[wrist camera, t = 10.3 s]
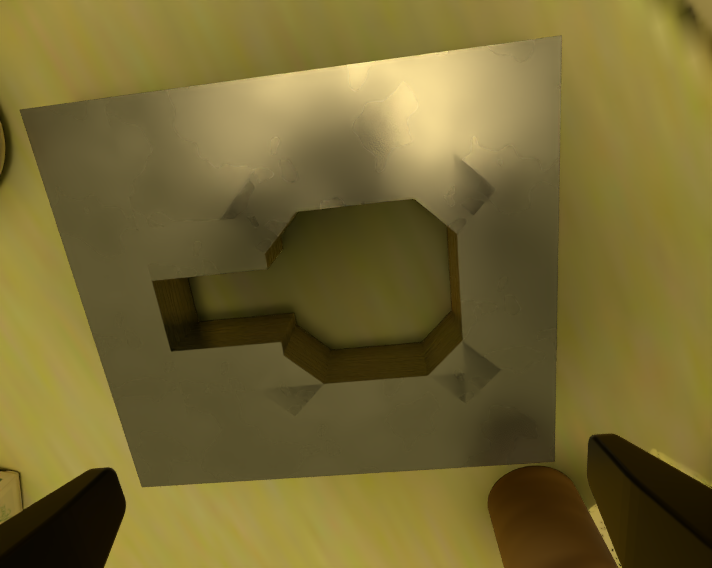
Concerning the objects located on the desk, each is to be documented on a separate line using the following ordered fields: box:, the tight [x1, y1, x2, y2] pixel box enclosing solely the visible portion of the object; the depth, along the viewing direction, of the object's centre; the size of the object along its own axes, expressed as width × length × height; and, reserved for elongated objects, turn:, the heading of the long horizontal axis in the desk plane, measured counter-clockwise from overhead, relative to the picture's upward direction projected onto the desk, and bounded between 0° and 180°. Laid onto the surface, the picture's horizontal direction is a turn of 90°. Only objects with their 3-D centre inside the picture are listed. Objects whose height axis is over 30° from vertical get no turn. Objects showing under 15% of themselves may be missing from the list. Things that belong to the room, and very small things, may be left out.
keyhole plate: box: [20, 35, 562, 487], centre depth 19 cm, size 18×16×3 cm
